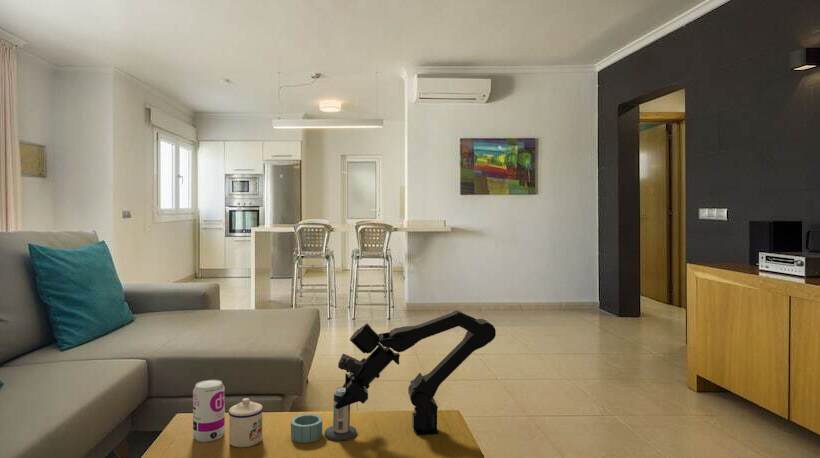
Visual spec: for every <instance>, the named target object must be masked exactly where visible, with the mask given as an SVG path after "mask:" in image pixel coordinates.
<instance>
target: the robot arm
mask: <svg viewBox="0 0 820 458" xmlns="http://www.w3.org/2000/svg"><path fill="white" fill-rule="evenodd" d="M457 327H460V328H462V329H464V330H466V333H465V335H464V337H463V339H462V340H461V341H460V342H459V343H458V344H457V345H455V347H454V348H453V349H452V350H451V351H450V352H449V353H448V354H447V355H446V356H445V357H444V358H443V359H442V360H441V361H440V362H439V363H438V364H437V365H436V366H435V367H434V368H433V369H432V370H431V371H430V372H428V373H427V374H425V375H423V374H422V373H421V372H419V373H418V374H417V375H416V377H415V378H413V379H412V380H410V381H409V382H410V384H409V386H408V389H407V390H408V391H407V393H408V397H409V399H410V403H411V404H412V405H413V407H414V408H413V412H412V414H411V415H412V416H411V421H412V422H411V423H412V424H411V428H412V429H413V430H414V433H415V434H416V435H418V436H419V435H429V434H430V435H431V434H432V435H434V434H439V433H440V432H439V429H438V409H439V406H438V404H437V402H436V400H435V395H436V393H437V391H438V389H439V387H440V386H441V385H442V383H443V382H444V381H445V380H446V379H447V378H448V377H449V376H450V375H452V374H453V372H455V370H457V369H458V367H460V365H462V363H464V362H465V360H467V359H468V358H469V356H471V355H472V354H473V352H475V351H478V350H479V349H482V348H484V347H486V346H487V345H488V344H489V343H491V342H492V341H494V339H495V338H496V336H497V335H496V334H497V332H496V327H495V326H494V325H493V324H492V323H491V322H489V321H488V320H486V319H485V318H475V317H473V316H470V315H468V314H465V313H463V312H462V311H461V310H459V309H458V310H457V309H456V310H454V311H452V312H449V313H447V314H445V315H442V316H439V317H436V318H434V319H431V320H427V321H425V322H423V323H419V324H416V325H408V326H407V325H405V326H400V327H394V328H392V329H391V330H390V331H389V332H382V333H377V332H376V331H375V330H374V329H373V328H372V327H371V326H370V324H369V323H365V324H364V325H362V326H360V328H358V329H357V330H355V331H354V333H353V334H352V335H351V337H350V338H349V341H350V342H351V343H352V344H353V345H354V346H355V348H357V349H358V350H359V351H360V352H361V353H362V354H370V355H368V356H367V357H364V358H361V360H359V359H357V358H356V357H355V358H354V357H352V356H351V355H347V354H346V353H342V355H341V356H340V359H339V361H338V363H337V365H338V366H337V367H338V369H340V370H343V371H346V372H345V376H344V377H345V379H344V380H345V382H344V383H343V384H342V387H346V391H345V392H344V394H343V395H342V397H341V398H340V399H339V401H338V402H337V404H336V405H335V408H336V409H340V408H342V407H345V406H347V405H350V406H351V405H353V404H355V403H358V402H360V403H362V404H365V402H367V401H368V399H369V391H368V389H369V388H370V385H371V383H372V382H373V381H375V379H379V378H380V374H381V373H382V372H383V371H384V370H385V369H386V368H387V367H388V366H389V365H390V363H392V361H393V362H395V364H396V365H400V356H401V354H400V353H402V352H405V351H407V350H409V349H410V348H412V347H414V346H415V345H416V344H417V343H419V342H420V341H422V340H424V339H427V338H430V337H433V336H435V335H439V334H440V333H444V332H447V331H449V330H452V329H454V328H457Z"/></svg>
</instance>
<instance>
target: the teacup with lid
mask: <svg viewBox="0 0 820 458" xmlns="http://www.w3.org/2000/svg"><path fill="white" fill-rule="evenodd" d="M263 411H264V407H263V405H262V404H261V403H259V402H254V401H251V400H250V398H248V397H246V398H243V399H242V401H241V402H238V403H237V404H235V405H233V406H231V407H230V408H229V409H228V415H229V418H228V419H229V420H228V421H229V422H228V423H229V424H228V425H229V430H228V431H229V432H228V433H229V435H228V437H229V438H228V439H229V441H228V442H229V444H230V445H231V446H232V447H235V448H249V447H252V446H255V445H258V444H259V443H260V442H261V441H262V440H263Z"/></svg>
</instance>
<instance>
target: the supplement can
mask: <svg viewBox="0 0 820 458" xmlns="http://www.w3.org/2000/svg"><path fill="white" fill-rule="evenodd" d="M225 389H226V388H225V385H224V384H223V381H222V380H219V379H205V380H202V381H199V382H197V383H196V384H195V386H194V388H193V390H192V430H193V431H192V437H193V439H195V440H196V441H197V442H199V443H209V442H213V441H217V440H219V439H221V438H222V437H223V435H224V434H225V431H226V427H225V423H226V422H225V421H226V417H225V416H226V415H225V414H226V413H225V411H226V410H225V408H226V407H225V400H226V398H225V396H226V395H225V391H226V390H225Z"/></svg>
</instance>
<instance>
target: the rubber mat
mask: <svg viewBox="0 0 820 458" xmlns="http://www.w3.org/2000/svg"><path fill="white" fill-rule="evenodd" d="M356 436H357V428H355V426H353V425H350V430H349V431H348V432H346V433H343V434H338V433H336V432H334V431H333V425H331V426H328V428H326V429H325V430H324V437H325V439H327V440H330V441H332V442H333V441H335V442H344V441H348V440H351V439H353V438H355V437H356Z"/></svg>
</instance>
